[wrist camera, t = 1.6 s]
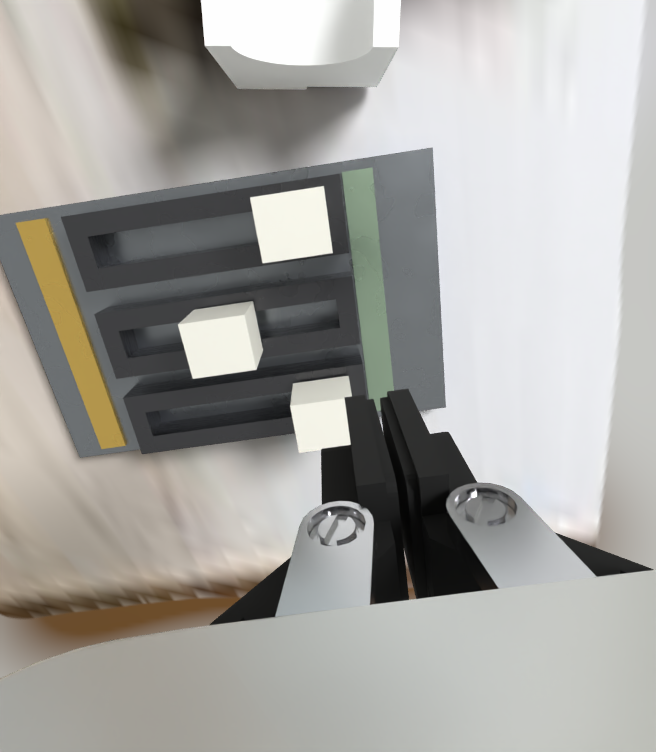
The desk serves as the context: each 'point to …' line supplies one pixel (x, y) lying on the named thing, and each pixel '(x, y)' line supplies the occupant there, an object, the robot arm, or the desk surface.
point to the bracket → (302, 41)
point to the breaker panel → (229, 302)
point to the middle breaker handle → (221, 340)
